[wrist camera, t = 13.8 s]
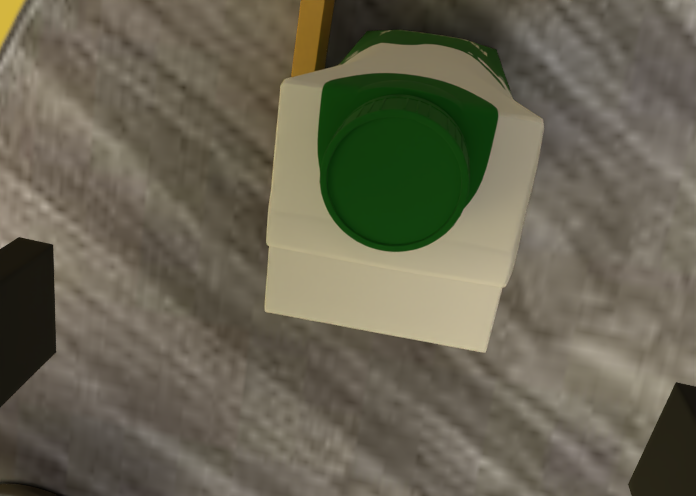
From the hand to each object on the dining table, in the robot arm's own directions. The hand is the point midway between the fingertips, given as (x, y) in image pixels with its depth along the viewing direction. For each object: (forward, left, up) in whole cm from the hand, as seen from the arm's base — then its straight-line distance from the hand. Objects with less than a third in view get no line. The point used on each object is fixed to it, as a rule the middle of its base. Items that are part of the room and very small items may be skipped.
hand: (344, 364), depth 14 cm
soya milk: (0, 0, -25) cm, 25 cm away
